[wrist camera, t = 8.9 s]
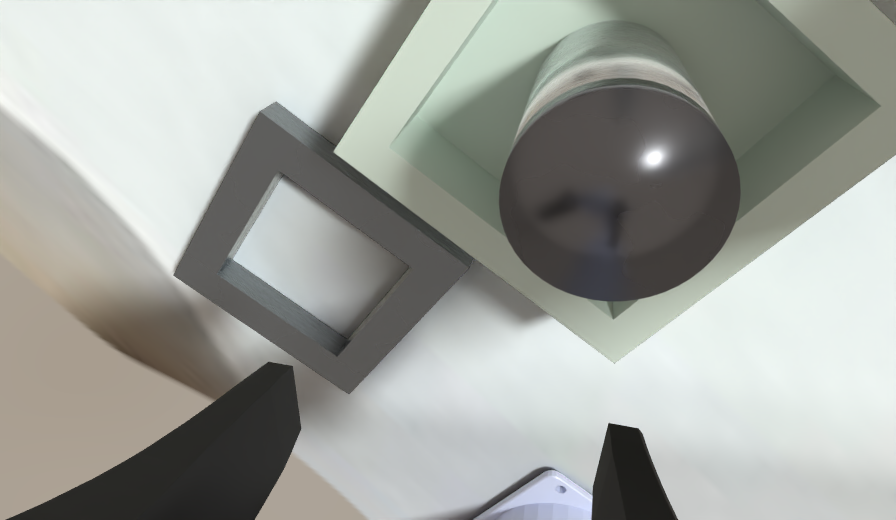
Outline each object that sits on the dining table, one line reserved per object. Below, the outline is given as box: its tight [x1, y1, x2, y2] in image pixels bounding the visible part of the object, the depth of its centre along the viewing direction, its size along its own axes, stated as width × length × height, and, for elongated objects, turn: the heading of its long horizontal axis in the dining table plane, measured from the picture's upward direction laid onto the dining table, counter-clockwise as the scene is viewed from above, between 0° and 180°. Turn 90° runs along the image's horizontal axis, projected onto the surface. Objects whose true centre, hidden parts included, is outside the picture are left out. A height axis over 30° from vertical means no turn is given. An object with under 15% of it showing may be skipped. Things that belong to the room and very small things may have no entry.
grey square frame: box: [173, 102, 473, 394], centre depth 23 cm, size 9×9×1 cm
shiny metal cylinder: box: [499, 20, 741, 301], centre depth 14 cm, size 4×4×7 cm
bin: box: [334, 0, 896, 364], centre depth 16 cm, size 11×11×4 cm
